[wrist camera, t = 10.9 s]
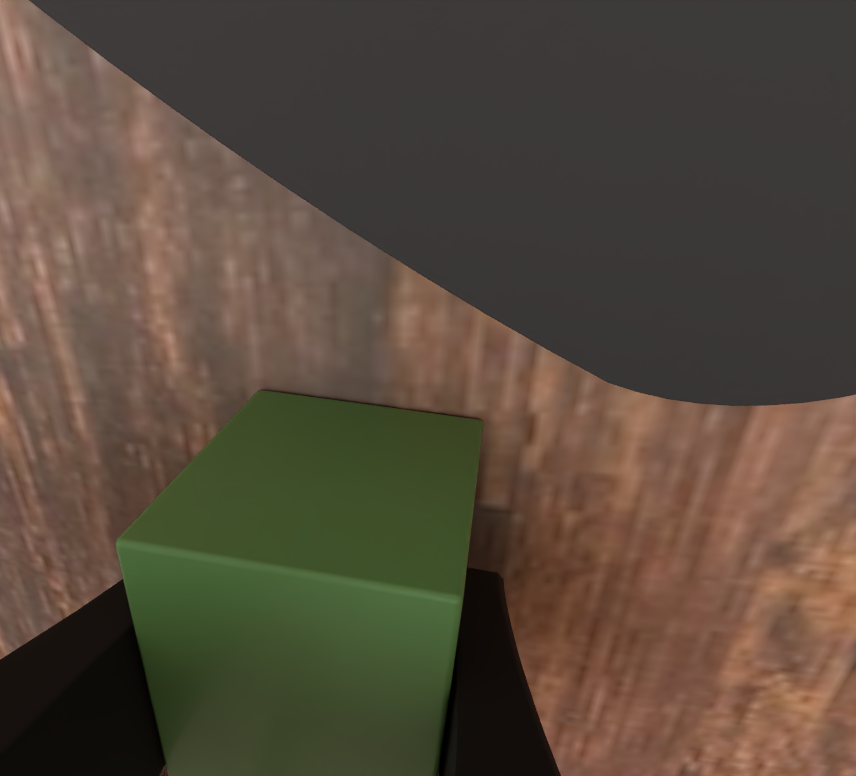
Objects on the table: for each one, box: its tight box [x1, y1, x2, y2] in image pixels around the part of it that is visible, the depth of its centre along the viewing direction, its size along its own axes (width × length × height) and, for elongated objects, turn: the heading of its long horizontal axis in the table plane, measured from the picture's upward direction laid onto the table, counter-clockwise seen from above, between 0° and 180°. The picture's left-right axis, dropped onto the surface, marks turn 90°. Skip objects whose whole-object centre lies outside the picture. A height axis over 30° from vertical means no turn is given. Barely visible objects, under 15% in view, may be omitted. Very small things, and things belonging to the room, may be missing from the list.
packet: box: [116, 390, 483, 776], centre depth 9 cm, size 6×4×4 cm, turn 176°
